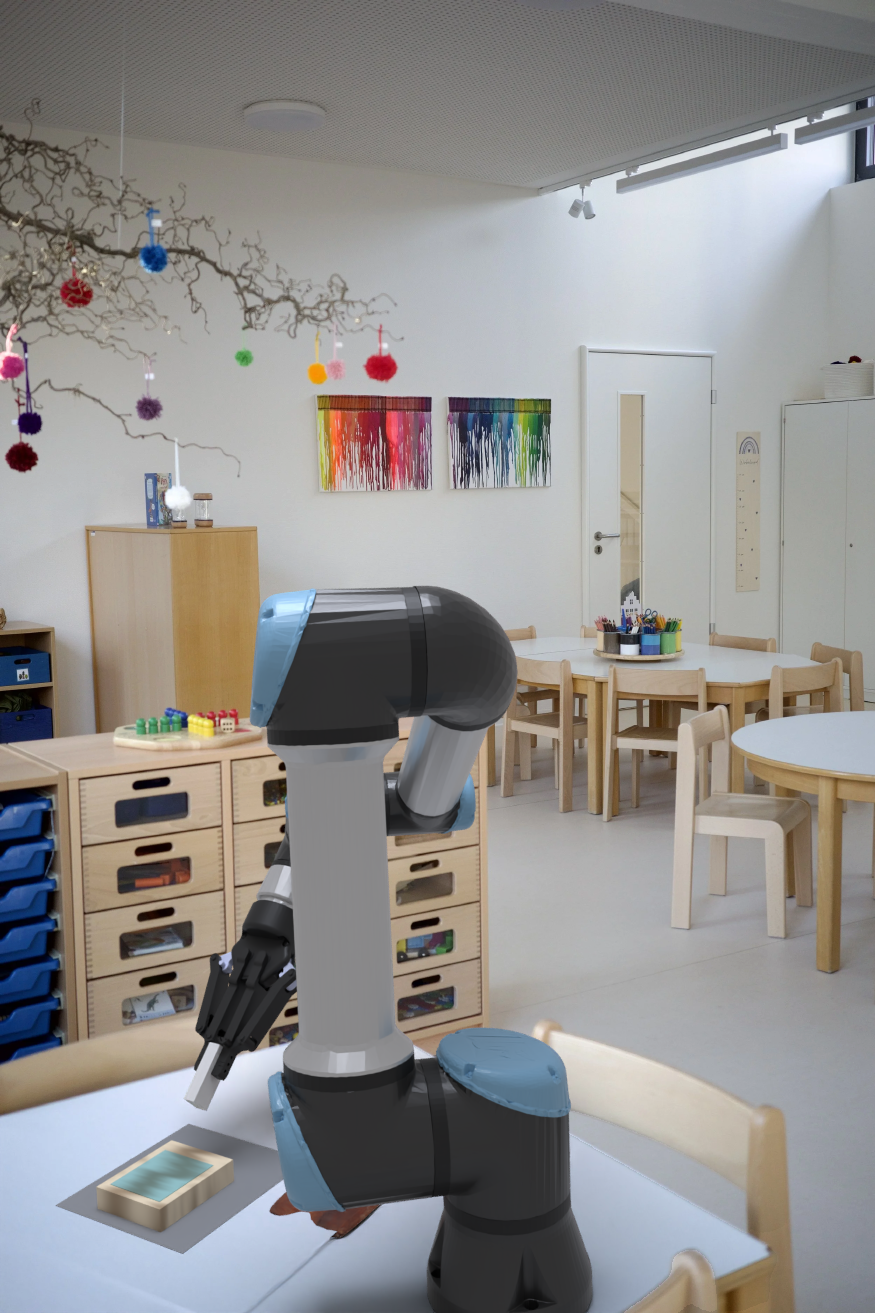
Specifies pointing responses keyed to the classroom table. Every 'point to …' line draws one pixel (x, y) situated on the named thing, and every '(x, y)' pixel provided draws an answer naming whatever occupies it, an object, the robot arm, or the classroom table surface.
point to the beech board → (165, 1185)
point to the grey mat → (251, 1180)
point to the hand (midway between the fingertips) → (195, 1104)
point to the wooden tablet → (326, 1216)
